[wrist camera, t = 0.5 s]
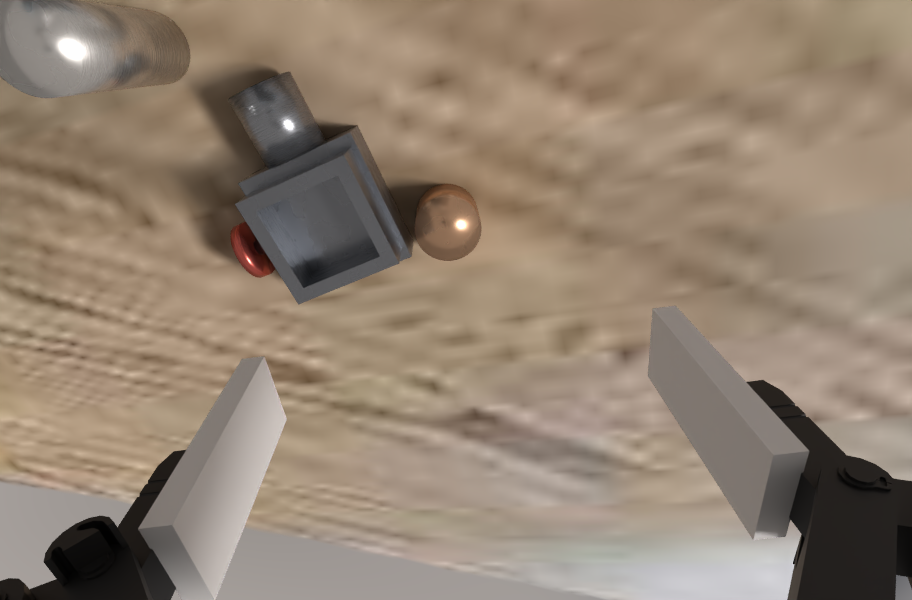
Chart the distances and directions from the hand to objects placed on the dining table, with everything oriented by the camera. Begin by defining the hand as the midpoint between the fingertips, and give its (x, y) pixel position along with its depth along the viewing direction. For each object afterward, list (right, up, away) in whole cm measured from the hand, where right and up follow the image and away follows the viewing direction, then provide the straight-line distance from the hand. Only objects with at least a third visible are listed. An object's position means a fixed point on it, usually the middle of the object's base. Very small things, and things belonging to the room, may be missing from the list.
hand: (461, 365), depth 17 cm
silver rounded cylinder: (-21, +20, +18) cm, 34 cm away
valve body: (-12, +11, +22) cm, 28 cm away
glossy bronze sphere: (-1, +9, +24) cm, 26 cm away
